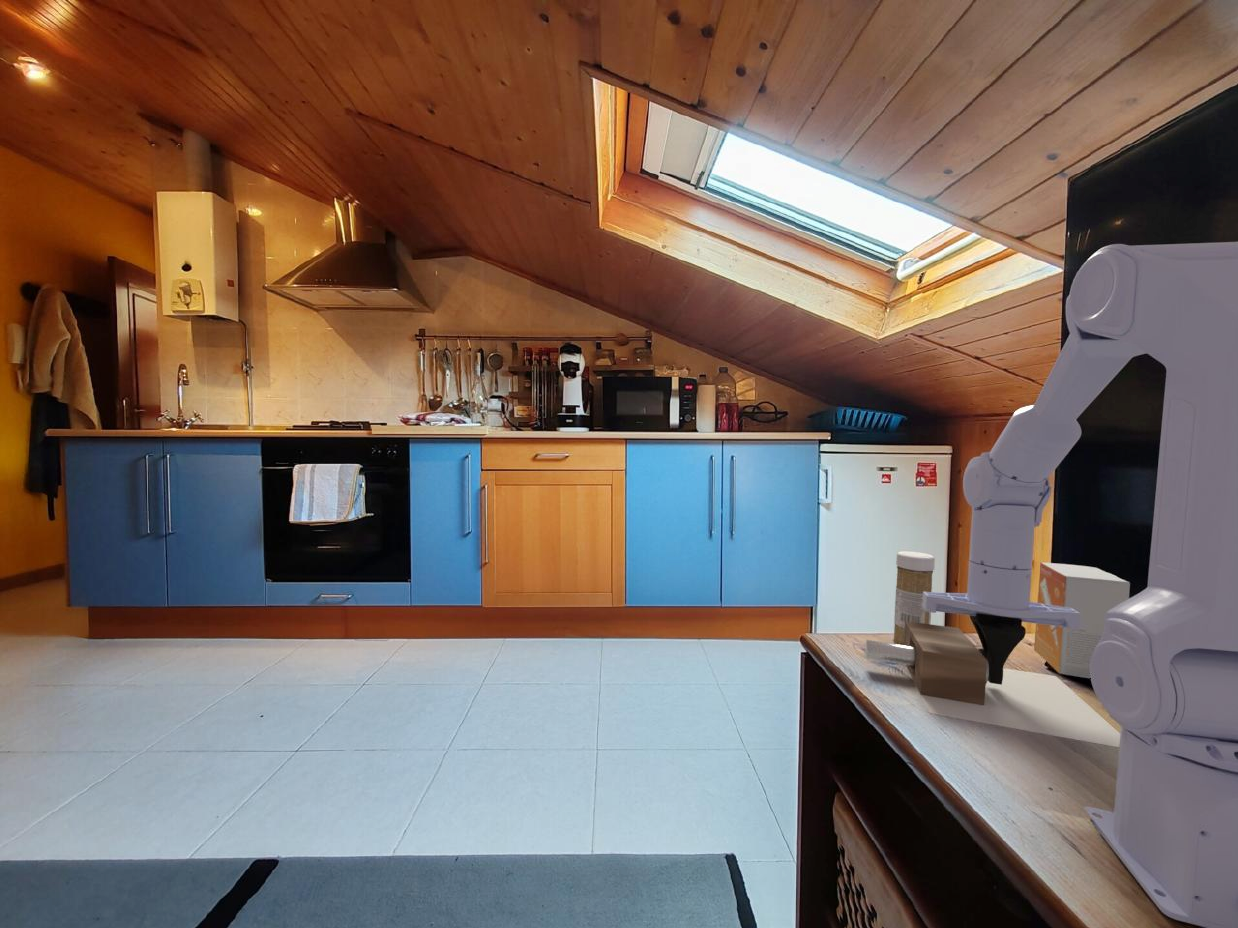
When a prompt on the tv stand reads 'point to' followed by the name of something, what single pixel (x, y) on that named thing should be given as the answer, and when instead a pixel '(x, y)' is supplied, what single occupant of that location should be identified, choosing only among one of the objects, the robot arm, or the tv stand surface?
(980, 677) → the block
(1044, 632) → the small box
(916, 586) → the sprinkles bottle
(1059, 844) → the tv stand surface
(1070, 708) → the board
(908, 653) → the pin
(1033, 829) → the tv stand surface
